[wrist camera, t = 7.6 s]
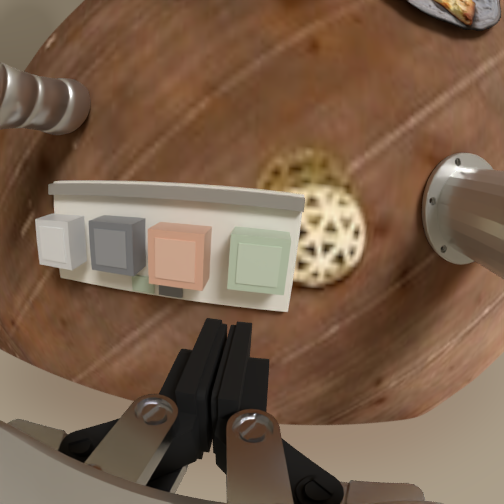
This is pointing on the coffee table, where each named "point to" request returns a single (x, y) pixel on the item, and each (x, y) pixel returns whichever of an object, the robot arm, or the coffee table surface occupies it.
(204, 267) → the key terracotta
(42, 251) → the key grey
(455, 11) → the food plate
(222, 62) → the coffee table surface
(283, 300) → the keyboard base
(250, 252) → the key sage
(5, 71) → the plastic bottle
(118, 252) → the key charcoal
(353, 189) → the coffee table surface
